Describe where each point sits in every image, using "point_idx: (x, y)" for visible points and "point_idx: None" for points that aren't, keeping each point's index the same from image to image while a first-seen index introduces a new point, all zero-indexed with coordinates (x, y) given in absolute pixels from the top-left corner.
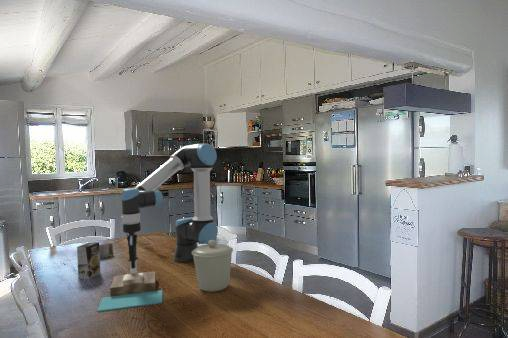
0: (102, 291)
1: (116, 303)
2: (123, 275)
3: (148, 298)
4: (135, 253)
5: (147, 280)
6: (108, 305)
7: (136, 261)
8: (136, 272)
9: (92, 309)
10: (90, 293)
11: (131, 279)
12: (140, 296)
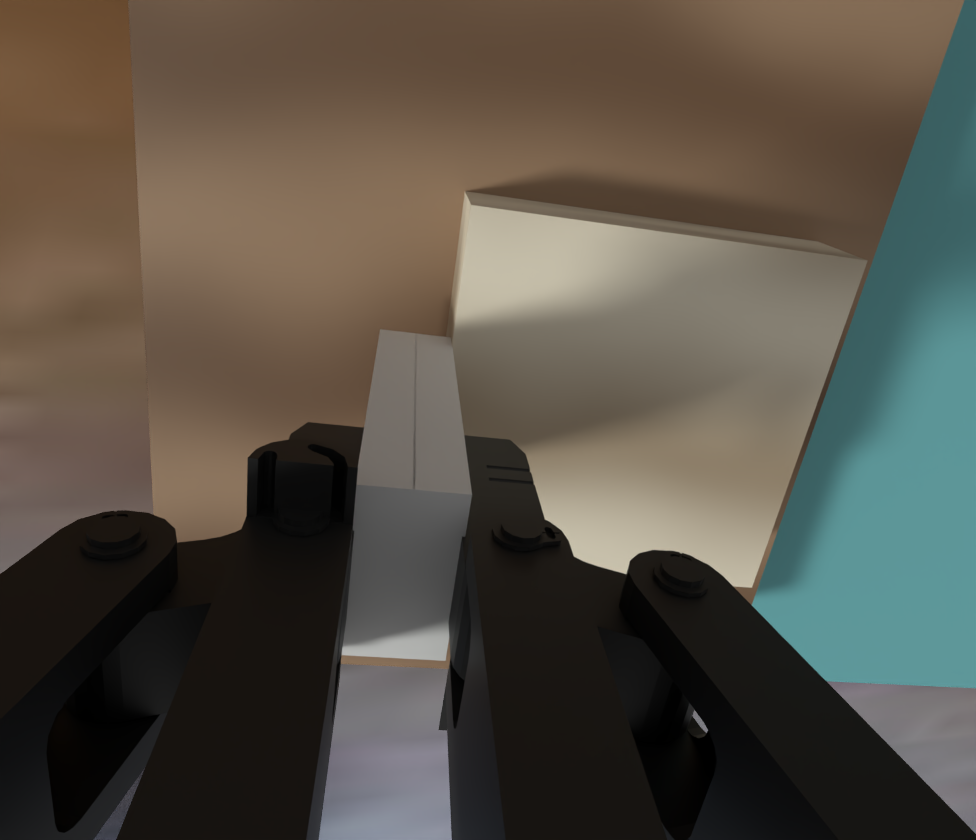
0: (420, 683)
1: (960, 540)
2: (196, 538)
3: None
4: (542, 702)
5: (737, 128)
6: (954, 609)
7: (383, 457)
8: (453, 359)
9: (897, 718)
10: (425, 778)
11: (795, 454)
12: (951, 266)
